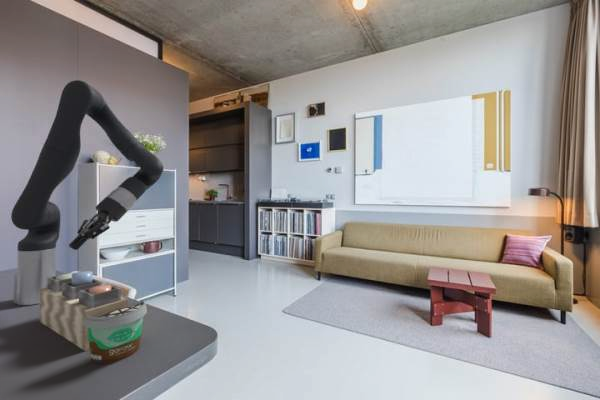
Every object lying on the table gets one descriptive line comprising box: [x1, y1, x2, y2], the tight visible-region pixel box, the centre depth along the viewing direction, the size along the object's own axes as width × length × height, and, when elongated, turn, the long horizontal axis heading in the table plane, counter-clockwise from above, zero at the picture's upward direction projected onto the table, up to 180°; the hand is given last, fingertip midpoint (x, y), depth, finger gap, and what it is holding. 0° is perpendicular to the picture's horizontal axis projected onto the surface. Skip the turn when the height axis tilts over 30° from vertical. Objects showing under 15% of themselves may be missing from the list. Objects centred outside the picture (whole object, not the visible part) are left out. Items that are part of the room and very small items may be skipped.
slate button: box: [71, 270, 94, 287], centre depth 73 cm, size 4×4×3 cm
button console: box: [39, 275, 129, 352], centre depth 73 cm, size 28×9×12 cm, turn 59°
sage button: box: [55, 272, 74, 281], centre depth 78 cm, size 4×4×3 cm
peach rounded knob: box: [89, 284, 111, 294], centre depth 67 cm, size 4×4×3 cm
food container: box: [84, 299, 148, 364], centre depth 60 cm, size 12×6×10 cm, turn 148°
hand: (72, 248), depth 79 cm, fingers closed
